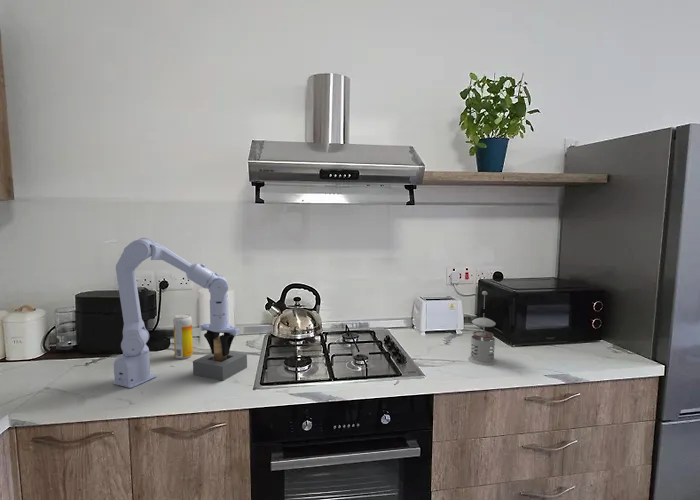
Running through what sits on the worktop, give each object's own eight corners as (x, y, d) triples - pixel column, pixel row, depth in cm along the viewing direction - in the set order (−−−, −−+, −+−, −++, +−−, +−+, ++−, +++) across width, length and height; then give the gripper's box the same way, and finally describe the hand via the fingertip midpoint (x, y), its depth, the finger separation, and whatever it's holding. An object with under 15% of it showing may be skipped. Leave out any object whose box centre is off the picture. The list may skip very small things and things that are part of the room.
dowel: (221, 365, 132) (220, 341, 131) (211, 363, 134) (210, 340, 133) (229, 361, 136) (228, 338, 135) (219, 359, 137) (219, 336, 137)
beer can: (196, 354, 151) (194, 314, 149) (188, 360, 145) (186, 318, 143) (180, 353, 151) (178, 313, 150) (171, 359, 145) (169, 318, 144)
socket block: (223, 380, 127) (222, 366, 127) (193, 374, 132) (192, 361, 131) (247, 367, 138) (246, 354, 138) (218, 361, 143) (218, 349, 142)
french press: (468, 363, 142) (470, 292, 140) (467, 352, 153) (469, 286, 151) (498, 366, 140) (501, 294, 137) (494, 354, 151) (497, 288, 149)
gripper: (245, 312, 134) (246, 353, 135) (210, 308, 140) (211, 347, 141) (231, 318, 127) (232, 360, 129) (195, 313, 133) (196, 353, 135)
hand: (220, 354), depth 134 cm, fingers closed on dowel, 4 cm apart
